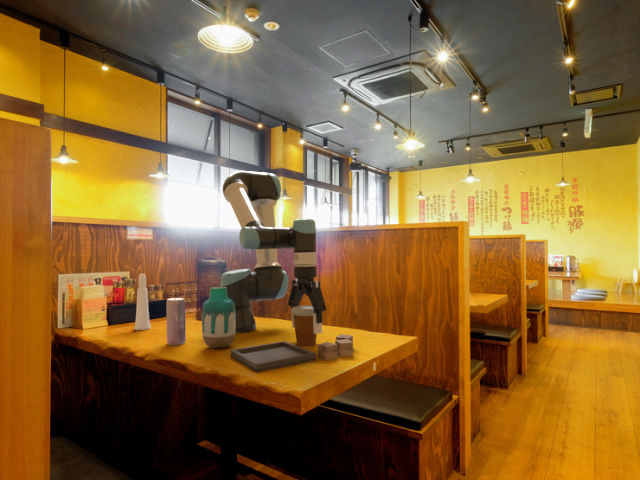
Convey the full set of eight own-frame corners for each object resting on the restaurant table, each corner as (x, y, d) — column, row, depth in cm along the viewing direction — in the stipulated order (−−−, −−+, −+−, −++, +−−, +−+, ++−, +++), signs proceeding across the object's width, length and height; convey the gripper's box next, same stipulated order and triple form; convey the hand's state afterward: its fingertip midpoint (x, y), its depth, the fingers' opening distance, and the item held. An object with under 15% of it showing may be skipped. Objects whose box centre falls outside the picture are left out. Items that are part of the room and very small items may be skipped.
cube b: (335, 353, 116) (335, 340, 116) (347, 352, 117) (347, 339, 117) (340, 357, 112) (340, 343, 112) (353, 355, 114) (352, 342, 114)
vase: (200, 345, 128) (199, 287, 129) (232, 341, 133) (232, 285, 133) (204, 353, 119) (203, 290, 119) (238, 349, 123) (238, 288, 123)
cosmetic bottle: (148, 329, 155) (148, 274, 155) (132, 330, 154) (131, 274, 154) (152, 326, 161) (152, 273, 161) (136, 327, 160) (136, 273, 160)
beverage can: (180, 340, 136) (180, 297, 136) (188, 343, 132) (188, 298, 132) (163, 343, 132) (163, 299, 132) (171, 346, 127) (171, 300, 128)
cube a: (317, 358, 112) (317, 344, 112) (327, 355, 114) (327, 341, 114) (327, 361, 109) (327, 346, 109) (337, 358, 111) (337, 344, 111)
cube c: (336, 350, 120) (335, 337, 120) (341, 347, 124) (341, 334, 124) (348, 351, 118) (347, 338, 119) (353, 348, 122) (352, 335, 122)
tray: (230, 356, 114) (230, 349, 114) (284, 347, 124) (284, 340, 124) (256, 372, 99) (256, 364, 99) (315, 360, 109) (315, 353, 109)
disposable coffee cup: (317, 347, 123) (316, 309, 123) (288, 346, 125) (287, 309, 125) (323, 340, 132) (322, 305, 133) (296, 339, 134) (295, 304, 134)
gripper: (277, 265, 137) (278, 326, 137) (316, 266, 117) (317, 338, 116) (296, 264, 142) (297, 323, 141) (336, 265, 121) (338, 334, 120)
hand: (306, 330), depth 128 cm, fingers open, 13 cm apart
